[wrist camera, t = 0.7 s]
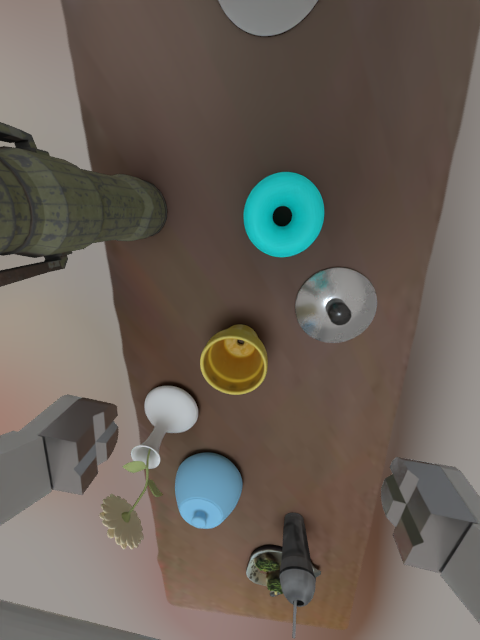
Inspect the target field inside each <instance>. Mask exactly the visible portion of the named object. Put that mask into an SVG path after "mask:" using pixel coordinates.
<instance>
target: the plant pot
mask: <svg viewBox="0 0 480 640" xmlns="http://www.w3.org/2000/svg"><path fill="white" fill-rule="evenodd" d="M238 339H239V340H243V341H244V343H243V344H239V343H238ZM267 364H268V361H267V352H266V349H265V347H264V345H263V343H262V342H261V341H260V340H259V339H258V336H257V334H256V332H255V331H254V330H253V329H252V328H250V327H249V326H247V325H242V324H238V325H233V326H231V327H230V328H228V329H226V330H223V331H220V332H218V333H217V334H215V335H214V336H213V337H212V338H211V339H210V340H209V342H208V343H207V344H206V346H205V348H204V350H203V352H202V354H201V358H200V367H201V371H202V374H203V376H204V378H205V379H206V381H207V382H208V383H209V384H210V385H211V386H212V387H214V388H215V389H217V390H219V391H221V392H223V393H227V394H234V395H238V394H245V393H248V392H251V391H253V390H254V389H256V388H257V387H258V386H259V385H260V384H261V383H262V382H263V380H264V378H265V376H266V373H267Z"/></svg>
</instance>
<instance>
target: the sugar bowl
mask: <svg viewBox="0 0 480 640" xmlns="http://www.w3.org/2000/svg"><path fill="white" fill-rule="evenodd" d="M242 484H243V483H242V478H241V475H240V473H239V471H238V469H237V468H236V466H235V465H234V464H233V463H232V462H231V461H230V460H229V459H227V458H226V457H224V456H222V455H219V454H216V453H210V452H204V453H198V454H195V455H193V456H190V457H188V458H187V459H185V460H184V461H183V462H182V463H181V465H180V466H179V468H178V471H177V475H176V481H175V494H176V500H177V504H178V508H179V511H180V514H181V516H182V517H183V519H184V520H185V521H186V522H188V523H189V524H191V525H193V526H195V527H197V528H205V529H207V528H213V527H216V526H218V525H219V524H220V523H222V522H223V521H224V520H225V519H226V518H227V517H228V515H229V514H230V513H231V512H232V511H233V509H234V508H235V506H236V504H237V502H238V500H239V498H240V495H241V491H242Z"/></svg>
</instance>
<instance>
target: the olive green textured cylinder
mask: <svg viewBox="0 0 480 640" xmlns="http://www.w3.org/2000/svg"><path fill="white" fill-rule="evenodd" d="M0 141H4V142H9V143H12V142H13V143H14V142H15V146H16V148H12V147H5V146H3V147H0V255H10V254H17V255H22V256H28V257H34V258H37V257H42V256H44V257H45V261H44V262H40V263H35V264H30V265H25V266H20V267H15V268H11V269H6V270H1V271H0V287H1V286H4V285H7V284H11V283H14V282H17V281H21V280H24V279H27V278H30V277H34V276H37V275H40V274H44V273H47V272H50V271H55V270H60V269H64V268H65V266H66V263H67V260H68V258H67V255H68V254H72V251H75V250H80V249H84V248H86V247H87V246H89V245H90V244H92V243H96V242H103V241H109V240H119V241H133V240H138V239H144V238H147V237H149V236H153V235H155V234H156V233H158V232H159V231H160V230H161V229H162V228H163V226H164V224H165V221H166V218H167V207H166V203H165V199H164V198H163V196H162V194H161V192H160V191H159V190H158V189H157V188H156V187H155V186H154V185H152V184H151V183H149V182H147V181H144V180H141V179H139V178H137V177H133V176H129V175H125V174H116V175H112V176H110V175H105V174H101V173H96V172H92V171H87V170H83V169H80V168H78V167H77V166H75V165H74V164H72V163H70V162H68V161H66V160H63V159H59V158H55V157H51V156H49V153H48V152H46V151H43V150H39V149H37V147H36V145H35V142H34V140H33V138H32V135H30V134H28V133H26V132H24V131H22V130H20V129H17V128H15V127H12V126H10V125H6V124H4V123H1V122H0Z"/></svg>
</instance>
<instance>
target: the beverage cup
mask: <svg viewBox="0 0 480 640" xmlns="http://www.w3.org/2000/svg"><path fill="white" fill-rule="evenodd" d="M279 578H280V584H281V588H282V591H283V594H284V595H285V597H286V598H287V600H288V601H289V602H290V603H291V604H293V605H294V612H293V634H292V637H293V638H295V629H296V606H298V607H301V606H305V605H307V604H308V603H309V602H310V601H311V599H312V598H313V595H314V592H315V582H316V578H315V575H314V571H313V567H312V564H311V559H310V553H309V547H308V541H307V535H306V529H305V525H304V519H303V517H302V516H301V515H300V514H298V513H288V514H287V515H286V516H285V521H284V531H283V547H282V562H281V567H280V573H279Z"/></svg>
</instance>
